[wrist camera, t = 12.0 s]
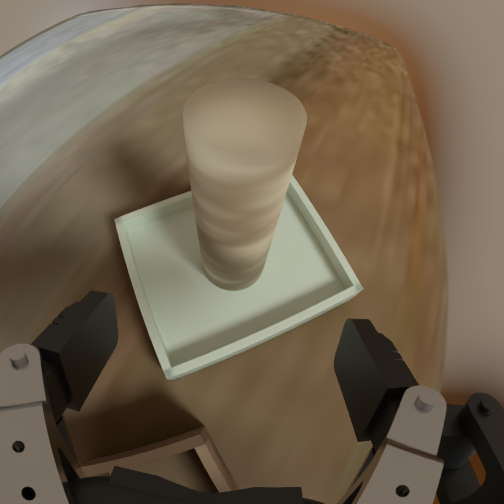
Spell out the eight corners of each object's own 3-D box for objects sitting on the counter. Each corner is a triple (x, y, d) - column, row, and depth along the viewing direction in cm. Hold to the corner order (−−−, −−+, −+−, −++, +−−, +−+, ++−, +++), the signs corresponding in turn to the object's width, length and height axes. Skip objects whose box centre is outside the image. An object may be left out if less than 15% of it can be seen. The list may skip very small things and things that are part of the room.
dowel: (197, 285, 19) (166, 143, 8) (208, 230, 21) (199, 74, 10) (260, 295, 19) (307, 162, 8) (266, 239, 21) (306, 87, 10)
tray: (123, 234, 21) (114, 219, 19) (279, 180, 24) (283, 162, 22) (173, 380, 17) (166, 379, 15) (350, 299, 20) (363, 288, 18)
